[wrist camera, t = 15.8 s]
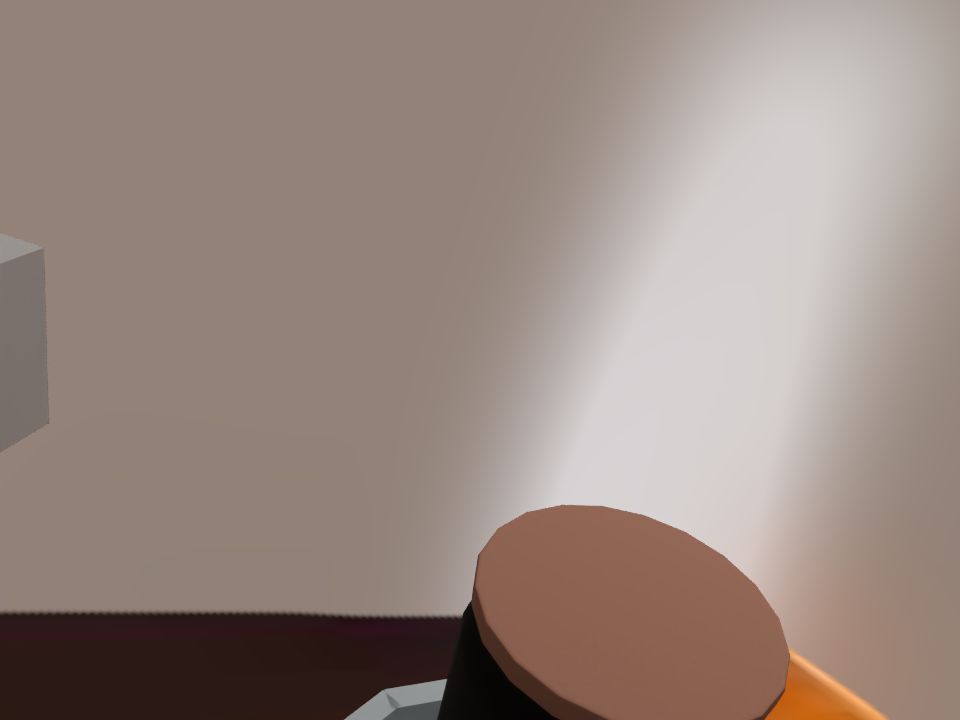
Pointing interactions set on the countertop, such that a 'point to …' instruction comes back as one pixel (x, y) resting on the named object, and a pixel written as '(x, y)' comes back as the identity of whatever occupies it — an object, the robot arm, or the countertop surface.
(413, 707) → the bowl
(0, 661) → the countertop surface
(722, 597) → the coffee jar
